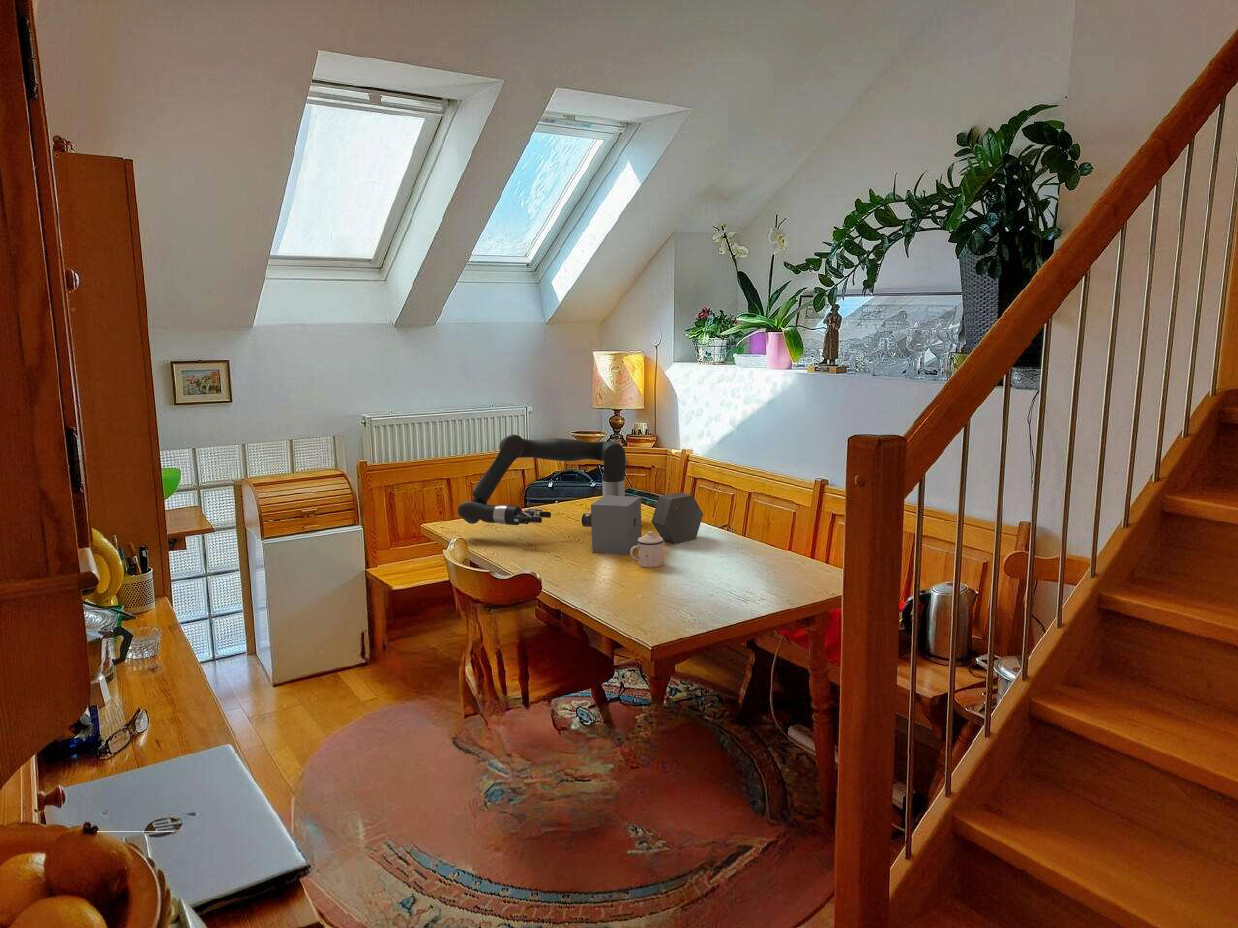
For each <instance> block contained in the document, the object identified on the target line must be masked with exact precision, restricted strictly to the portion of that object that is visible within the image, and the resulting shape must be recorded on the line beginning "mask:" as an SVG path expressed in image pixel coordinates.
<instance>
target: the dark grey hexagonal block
mask: <svg viewBox="0 0 1238 928" xmlns="http://www.w3.org/2000/svg"><path fill="white" fill-rule="evenodd" d="M657 499H658V500H657V503H656V505H655V509H654V511H653V515H652V518H651V521H650V522H651V524H652V525H653V527H654V528H655V530H656V531H657V534H658V536H660V537H662V538H663V540H664V541H665V542H668V543H671V544H674V545H676V544H682V543H686V542H690V541H695V540H696V539H697V536H698V533H699V529H700V527H701V524H702V520H703V516H704V513H703V511H702V509H701V507H700V506H699V504H698V502H697V501H696V499H695V497H694V496H693V494H687V493H684V492H674V493H669V494H663V495H659V496H658V498H657Z"/></svg>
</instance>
